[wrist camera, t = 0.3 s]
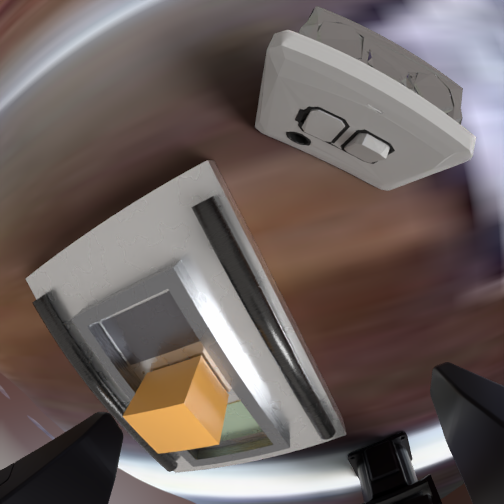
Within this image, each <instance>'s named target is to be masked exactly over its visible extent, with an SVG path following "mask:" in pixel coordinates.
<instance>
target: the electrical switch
mask: <svg viewBox="0 0 504 504" xmlns="http://www.w3.org/2000/svg"><path fill="white" fill-rule="evenodd" d="M336 22H340V23H336ZM369 51H370V52H371V55H372V58H371V59H370V60H369V61H367V60H368V55H369ZM360 58H361V59H360ZM373 67H374V68H373ZM408 73H409V76H408V79H407V77H406V76H407V75H408ZM416 74H417V75H416ZM405 86H406V87H405ZM415 90H416V91H417V93H418V94H417V93H416V91H415ZM462 90H463V88H461V87H460V86H459V85H457V84H456V83H455V82H454V81H452V80H451V79H449V78H448V77H447V76H445V75H444V74H443V73H441V72H440V71H438V70H437V69H435V68H434V67H432V66H431V65H429V64H428V63H426V62H425V61H423V60H422V59H420V58H419V57H417V56H416V55H414V54H412V53H411V52H409V51H407V50H406V49H404V48H402V47H401V46H399V45H397V44H395V43H394V42H392V41H390V40H388V39H387V38H385V37H383V36H381V35H379V34H377V33H375V32H373V31H371V30H369V29H367V28H365V27H363V26H361V25H359V24H357V23H355V22H353V21H351V20H349V19H346V18H344V17H342V16H340V15H337V14H335V13H333V12H330V11H328V10H325V9H323V8H320V7H318V6H316V8H315V10H314V9H313V11H312V13H311V15H310V17H309V19H308V21H307V23H305V24H304V25H303V26H302V27H301V29H300V31H299V33H296V32H293V31H290V30H285V31H282V32H279V33H275V34H274V35H273V38H272V40H271V42H270V44H269V46H268V48H267V52H266V58H265V64H264V71H263V77H262V83H261V90H260V96H259V103H258V109H257V116H256V122H255V128H256V129H258V130H259V131H260V132H261V133H262V134H265V135H267V136H269V137H272V138H274V139H277V140H279V141H281V142H284V143H286V144H288V145H290V146H293V147H295V148H297V149H300V150H302V151H304V152H306V153H308V154H311V155H313V156H315V157H317V158H319V159H321V160H323V161H325V162H328V163H330V164H332V165H334V166H336V167H338V168H340V169H342V170H344V171H346V172H348V173H350V174H352V175H354V176H356V177H358V178H360V179H362V180H363V181H365V182H367V183H369V184H371V185H373V186H375V187H377V188H379V189H382V190H387V191H389V190H392V189H394V188H397V187H399V186H402V185H405V184H407V183H410V182H413V181H415V180H418V179H421V178H423V177H426V176H429V175H431V174H434V173H437V172H440V171H442V170H445V169H448V168H450V167H453V166H456V165H458V164H461V163H464V162H466V161H469V160H470V159H471V158H472V156H473V151H474V145H475V140H476V137H475V136H474V135H473V134H472V133H470V132H469V131H468V130H467V129H465V128H464V127H463V126H462V125H461V121H462V113H461V100H462ZM450 94H451V96H450Z"/></svg>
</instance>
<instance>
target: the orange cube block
mask: <svg viewBox="0 0 504 504" xmlns="http://www.w3.org/2000/svg"><path fill="white" fill-rule="evenodd" d="M228 397H229V394H228V393H227V391H226V390H225V389H224V387H223V386H222V384H221V383H220V382H219V380H218V379H217V377H216V376H215V374H214V373H213V372H212V370H211V369H210V367H209V366H208V364H207V363H206V361H205V360H204V358H203V357H202V355H200V356H198V357H195V358H192V359H189V360H186V361H183V362H180V363H177V364H174V365H170V366H167V367H164V368H161V369H158V370H155V371H151V372H148V373H147V374H146V375H145V377H144V379H143V381H142V382H141V384H140V386H139V388H138V390H137V391H136V393H135V395H134V397H133V398H132V400H131V402H130V404H129V406H128V407H127V409H126V411H125V413H124V415H123V417H124V419H125V420H126V421H127V422H128V423H129V424H130V425H131V426H132V427H133V428H134V430H135V431H136V432H137V433H138V434H139V435H140V436H141V437H142V438H143V439H144V440H145V441H146V442H147V443H148V444H149V445H150V446H151V447H152V448H153V449H154V450H155V451H156V452H157V453H158V454H160V453H168V452H176V451H183V450H190V449H196V448H202V447H208V446H213V445H219V443H220V438H221V433H222V428H223V423H224V418H225V413H226V408H227V402H228Z"/></svg>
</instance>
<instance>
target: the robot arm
mask: <svg viewBox="0 0 504 504" xmlns="http://www.w3.org/2000/svg"><path fill="white" fill-rule="evenodd" d="M430 393H431V398H432V401H433V404H434V406H435V409H436V412H437V415H438V418H439V421H440V424H441V427H442V430H443V433H444V436H445V439H446V442H447V444H448V447H449V449H450V451H451V453H452V455H453V458H454V460H455V462H456V464H457V467H458V469H459V471H460V473H461V476H462V478H463V480H464V483H465V485H466V487H467V490H468V493H469V495H470V497H471V500H472V503H473V504H504V386H502V385H500V384H498V383H495V382H493V381H491V380H488V379H486V378H484V377H481V376H479V375H477V374H474V373H472V372H470V371H468V370H465V369H463V368H461V367H459V366H456V365H454V364H452V363H449V362H445V363H442V364H440V365H437V366H435V367H434V368H433V372H432V380H431V389H430ZM122 442H123V433H122V430H121V429H120V427H119V426H118V424H117V423H116V421H115V420H114V418H113V416H112V415H111V414H110V413H107V412H97V413H95V414H94V415H92V416H90V417H89V418H87V419H86V420H84V421H83V422H81V423H79V424H78V425H76V426H75V427H73V428H71V429H70V430H68V431H67V432H65V433H64V434H62V435H60V436H59V437H57V438H55V439H54V440H52V441H50V442H49V443H47V444H45V445H44V446H42V447H40V448H39V449H37V450H35V451H34V452H32V453H30V454H28V455H27V456H25V457H23V458H22V459H20V460H18V461H17V462H15V463H13V464H11V465H9V466H8V467H6V468H4V469H2V470H0V504H108V502H109V499H110V495H111V491H112V488H113V485H114V481H115V477H116V472H117V467H118V462H119V457H120V452H121V447H122ZM348 460H349V462H350V464H351V465H352V467H353V469H354V471H355V473H356V474H357V476H358V478H359V480H360V484H361V489H362V494H363V499H364V503H363V504H442V502H441V500H440V497H439V494H438V492H437V489H436V487H435V484H434V482H433V480H432V477H431V475H428V476H425V478H423V479H421V480H419V481H418V480H417V477H416V474H415V471H414V469H413V466H412V463H411V460H412V455H411V451H410V446H409V442H408V437H407V434H406V433H405V432H403V433H400V434H398V435H396V436H393V437H391V438H389V439H386V440H384V441H381V442H379V443H376V444H374V445H371V446H369V447H366V448H364V449H361V450H358V451H355V452H353V453H350V454H349V455H348ZM430 495H431V496H430Z"/></svg>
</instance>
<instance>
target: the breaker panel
mask: <svg viewBox="0 0 504 504" xmlns="http://www.w3.org/2000/svg"><path fill="white" fill-rule="evenodd" d="M26 281H27V283H28V284H29V286H30V288H31V290H32V292H33V294H34V296H35V297H36V299H37V300H36V301H34V302H33V305H34V307H35V308H36V310H37V312H38V313H39V315H40V317H41V318H42V320H43V322H44V323H45V325H46V327H47V328H48V330H49V332H50V333H51V335H52V336H53V338H54V339H55V341H56V342H57V344H58V345H59V347H60V348H61V350H62V351H63V353H64V354H65V356H66V357H67V359H68V360H69V361H70V363H71V364H72V366H73V367H74V368H75V370H76V371H77V372H78V374H79V375H80V376H81V378H82V379H83V380H84V382H85V383H86V384H87V385H88V387H89V388H90V389H91V391H92V392H93V393H94V394H95V396H96V397H97V398H98V399H99V400H100V402H101V403H102V404H103V405H104V406H105V408H106V409H107V410H108V411H109V412H110V413H111V414H112V416H113V417H114V418H115V419H116V420H117V421H118V422H119V423H120V424H121V426H122V427H123V428H124V429H125V430H126V431H127V432H128V433H129V434H130V435H131V436H132V437H133V438H134V439H135V440H136V441H137V442H138V443H139V444H140V445H141V446H142V447H143V448H144V449H145V450H146V451H147V452H148V453H149V454H150V455H151V456H152V457H153V458H154V459H155V460H156V461H157V462H158V463H159V464H160V465H162V466H163V467H164V468H165V469H166V470H167V471H169V472H171V471H175V472H186V471H195V470H203V469H211V468H218V467H224V466H230V465H236V464H241V463H246V462H251V461H256V460H261V459H265V458H270V457H274V456H278V455H282V454H286V453H290V452H293V451H297V450H301V449H304V448H308V447H311V446H314V445H317V444H321V443H324V442H327V441H330V440H333V439H336V438H339V437H342V436H344V435H346V430H345V426H344V421H343V418H342V416H341V414H340V412H339V410H338V408H337V406H336V404H335V402H334V400H333V398H332V396H331V394H330V392H329V389H328V387H327V385H326V383H325V381H324V379H323V377H322V375H321V373H320V371H319V369H318V367H317V365H316V363H315V361H314V359H313V357H312V355H311V353H310V351H309V349H308V347H307V345H306V343H305V341H304V339H303V337H302V335H301V333H300V331H299V329H298V327H297V325H296V323H295V321H294V319H293V317H292V315H291V312H290V310H289V308H288V306H287V304H286V302H285V300H284V298H283V296H282V294H281V292H280V290H279V288H278V286H277V284H276V282H275V280H274V278H273V276H272V274H271V272H270V270H269V268H268V266H267V264H266V262H265V260H264V258H263V256H262V254H261V252H260V250H259V248H258V246H257V244H256V242H255V240H254V238H253V236H252V235H251V233H250V231H249V229H248V227H247V225H246V223H245V221H244V219H243V217H242V215H241V213H240V211H239V209H238V207H237V205H236V203H235V201H234V199H233V197H232V195H231V193H230V191H229V189H228V187H227V185H226V183H225V181H224V179H223V177H222V175H221V173H220V171H219V169H218V167H217V165H216V163H215V161H213V160H207V161H205V162H203V163H201V164H199V165H197V166H196V167H194V168H192V169H190V170H188V171H187V172H185V173H183V174H181V175H179V176H178V177H176V178H174V179H172V180H171V181H169V182H167V183H165V184H164V185H162V186H160V187H159V188H157V189H155V190H154V191H152V192H150V193H149V194H147V195H145V196H144V197H142V198H140V199H139V200H137V201H135V202H134V203H132V204H131V205H129V206H127V207H126V208H124V209H123V210H121V211H120V212H118V213H116V214H115V215H113V216H112V217H110V218H109V219H107V220H106V221H104V222H103V223H101V224H100V225H98V226H97V227H95V228H94V229H92V230H91V231H89V232H88V233H86V234H85V235H84V236H82V237H81V238H79V239H78V240H76V241H75V242H74V243H72V244H71V245H69V246H68V247H67V248H65V249H64V250H62V251H61V252H60V253H58V254H57V255H56V256H54V257H53V258H52V259H50V260H49V261H48V262H46V263H45V264H44V265H42V266H41V267H40V268H38V269H37V270H36V271H34V272H33V273H32V274H31V275H29V276H28V277H27V278H26ZM200 355H202V357H203V358H204V360H205V361H206V363H207V364H208V366H209V367H210V369H211V370H212V372H213V373H214V374H215V376H216V377H217V379H218V380H219V382H220V383H221V384H222V386H223V387H224V389H225V390H226V391H227V393H228V394H229V397H228V402H227V408H226V413H225V418H224V423H223V428H222V433H221V438H220V443H219V445H213V446H208V447H202V448H196V449H190V450H183V451H176V452H168V453H160V454H158V453H157V452H156V451H155V450H154V449H153V448H152V447H151V446H150V445H149V444H148V443H147V442H146V441H145V440H144V439H143V438H142V437H141V436H140V435H139V434H138V433H137V432H136V431H135V430H134V428H133V427H132V426H131V425H130V424H129V423H128V422H127V421H126V420H125V419H124V417H123V415H124V413H125V411H126V409H127V407H128V406H129V404H130V402H131V400H132V398H133V397H134V395H135V393H136V391H137V390H138V388H139V386H140V384H141V382H142V381H143V379H144V377H145V375H146V374H147V373H148V372H151V371H155V370H158V369H161V368H164V367H167V366H170V365H174V364H177V363H180V362H183V361H186V360H189V359H192V358H195V357H198V356H200Z"/></svg>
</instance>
